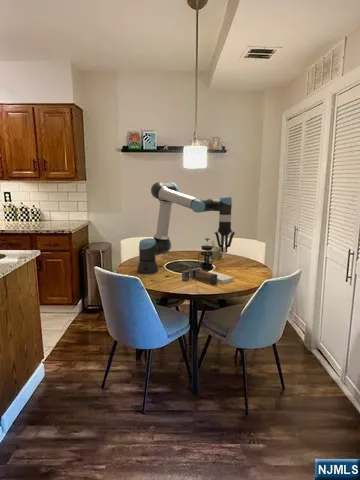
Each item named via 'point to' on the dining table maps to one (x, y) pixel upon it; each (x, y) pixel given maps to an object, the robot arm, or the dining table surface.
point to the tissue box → (214, 252)
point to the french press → (206, 257)
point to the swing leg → (206, 277)
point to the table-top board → (223, 278)
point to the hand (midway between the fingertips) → (223, 257)
